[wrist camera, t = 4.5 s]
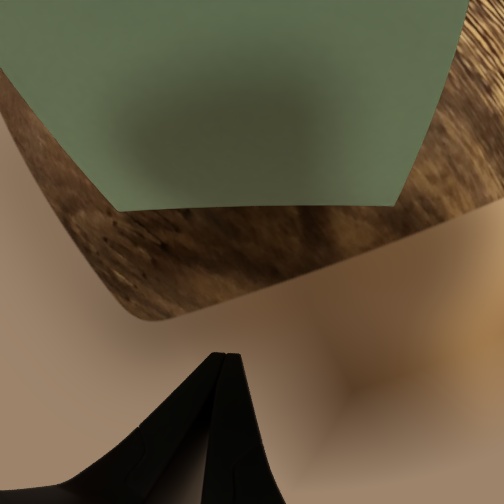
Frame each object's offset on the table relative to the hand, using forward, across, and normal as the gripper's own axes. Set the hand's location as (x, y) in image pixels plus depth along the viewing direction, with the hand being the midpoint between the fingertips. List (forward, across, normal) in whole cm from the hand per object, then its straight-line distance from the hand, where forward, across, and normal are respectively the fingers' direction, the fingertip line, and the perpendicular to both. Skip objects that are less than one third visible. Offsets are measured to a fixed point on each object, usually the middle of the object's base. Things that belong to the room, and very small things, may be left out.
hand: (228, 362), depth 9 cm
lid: (+2, 0, -8) cm, 8 cm away
